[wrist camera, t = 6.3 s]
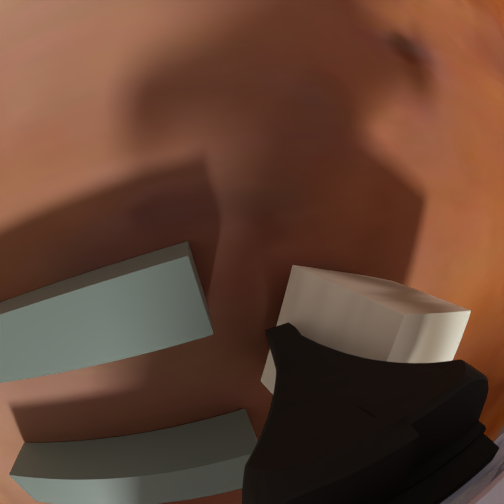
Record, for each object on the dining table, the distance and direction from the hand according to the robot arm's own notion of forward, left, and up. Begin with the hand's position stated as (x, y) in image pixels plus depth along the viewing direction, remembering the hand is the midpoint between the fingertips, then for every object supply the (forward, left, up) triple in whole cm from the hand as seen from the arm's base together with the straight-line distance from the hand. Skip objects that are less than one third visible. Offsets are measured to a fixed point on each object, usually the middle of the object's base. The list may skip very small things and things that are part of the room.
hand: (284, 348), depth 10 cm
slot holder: (+7, +6, -2) cm, 9 cm away
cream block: (-3, -1, -2) cm, 3 cm away
